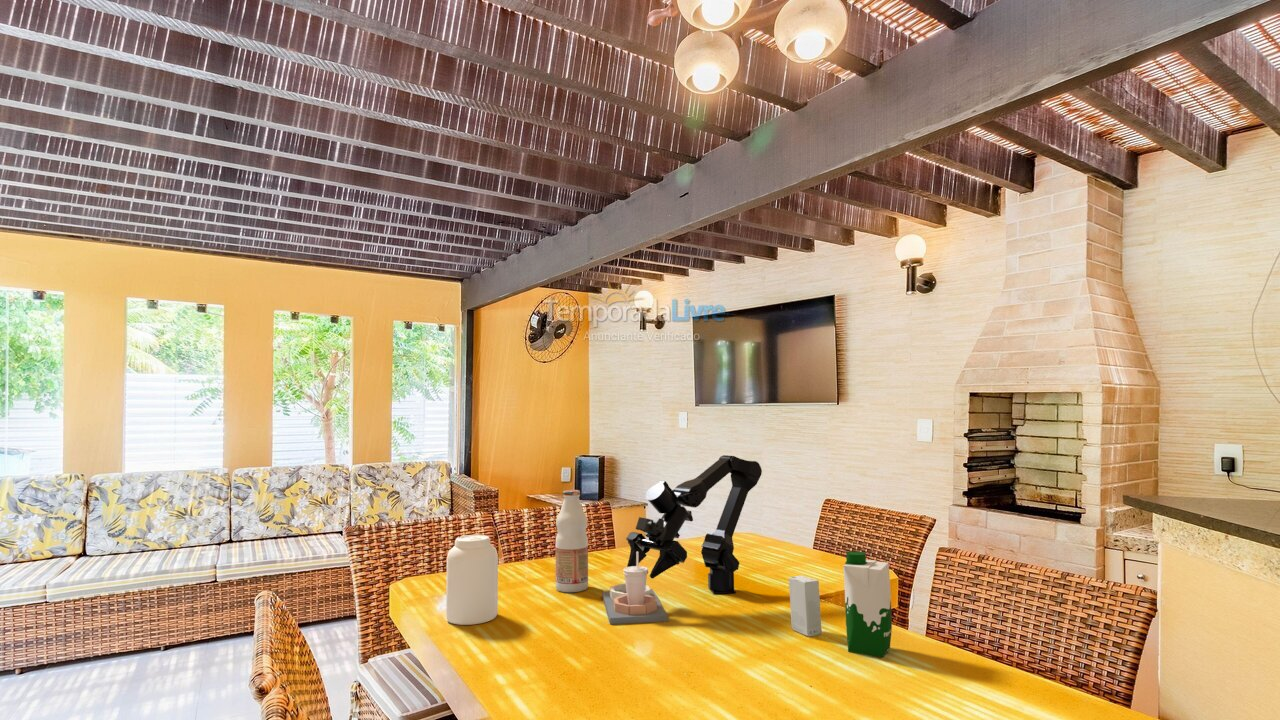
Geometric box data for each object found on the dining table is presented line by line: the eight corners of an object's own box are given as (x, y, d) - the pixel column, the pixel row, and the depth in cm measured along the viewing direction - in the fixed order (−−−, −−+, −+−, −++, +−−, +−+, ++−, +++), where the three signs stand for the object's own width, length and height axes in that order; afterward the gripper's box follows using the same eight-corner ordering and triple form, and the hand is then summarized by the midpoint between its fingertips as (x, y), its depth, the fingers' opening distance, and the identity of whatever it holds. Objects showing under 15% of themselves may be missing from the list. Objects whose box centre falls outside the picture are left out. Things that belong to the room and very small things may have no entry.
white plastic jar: (507, 617, 166) (508, 536, 168) (463, 629, 157) (464, 543, 159) (479, 607, 175) (479, 530, 176) (436, 618, 166) (437, 537, 167)
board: (652, 594, 185) (652, 581, 186) (667, 621, 162) (667, 606, 162) (602, 596, 183) (602, 583, 184) (609, 624, 160) (609, 609, 160)
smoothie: (641, 613, 163) (640, 555, 164) (618, 609, 166) (618, 552, 167) (653, 606, 169) (652, 550, 170) (631, 603, 172) (630, 548, 173)
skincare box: (822, 634, 151) (821, 580, 152) (807, 637, 149) (805, 582, 150) (804, 626, 157) (803, 574, 157) (789, 629, 155) (788, 576, 155)
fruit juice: (557, 594, 187) (556, 493, 189) (554, 585, 196) (554, 489, 198) (590, 591, 189) (589, 492, 191) (585, 583, 198) (585, 488, 200)
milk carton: (853, 640, 147) (850, 548, 149) (896, 647, 142) (892, 552, 144) (842, 652, 140) (839, 555, 141) (887, 660, 135) (883, 560, 137)
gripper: (630, 501, 181) (598, 549, 173) (677, 509, 167) (645, 561, 159) (653, 527, 185) (623, 574, 178) (700, 536, 171) (670, 588, 163)
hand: (639, 574), depth 169 cm, fingers open, 9 cm apart
